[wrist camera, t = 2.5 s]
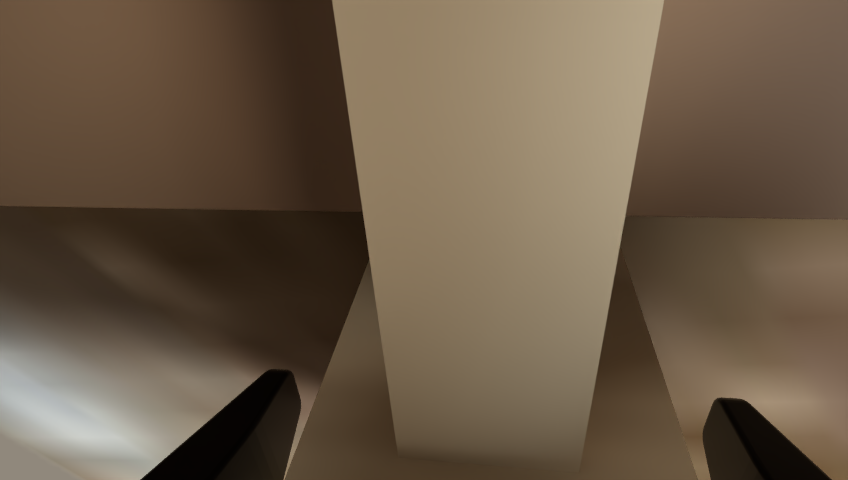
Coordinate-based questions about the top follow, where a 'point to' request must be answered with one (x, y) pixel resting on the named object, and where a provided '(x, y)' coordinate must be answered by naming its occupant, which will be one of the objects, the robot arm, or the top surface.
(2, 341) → the top surface
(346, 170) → the board
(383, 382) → the gauge
